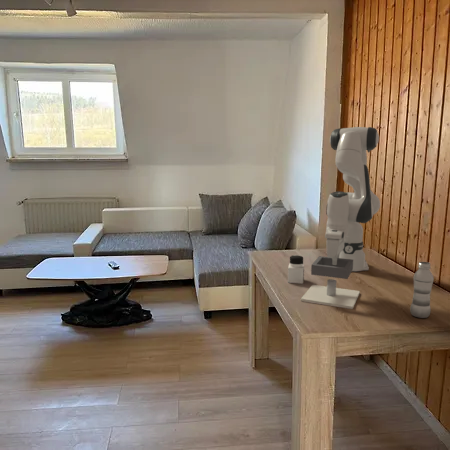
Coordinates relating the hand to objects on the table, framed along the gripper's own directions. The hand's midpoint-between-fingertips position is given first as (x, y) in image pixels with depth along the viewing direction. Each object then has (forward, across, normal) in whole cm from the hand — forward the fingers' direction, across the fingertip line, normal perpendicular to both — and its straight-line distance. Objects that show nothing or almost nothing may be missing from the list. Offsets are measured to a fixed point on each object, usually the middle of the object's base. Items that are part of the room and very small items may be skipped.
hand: (335, 263), depth 171 cm
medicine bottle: (+13, -9, -19) cm, 25 cm away
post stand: (+13, +6, 0) cm, 14 cm away
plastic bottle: (+13, +13, +33) cm, 38 cm away
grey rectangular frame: (+2, +6, 0) cm, 6 cm away
